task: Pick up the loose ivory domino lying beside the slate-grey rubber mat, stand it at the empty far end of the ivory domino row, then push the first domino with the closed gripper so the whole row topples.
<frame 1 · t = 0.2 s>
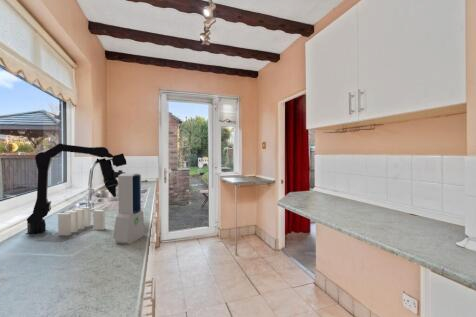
hand: (114, 195, 133), 15 cm above the table, tool pointing down, fingers open, 9 cm apart
domino 3: (72, 231, 115), point 1 cm above the table, touching rubber mat
rubber mat: (70, 233, 114), on the table
electronic device: (129, 239, 107), on the table
domino 1: (85, 226, 124), point 1 cm above the table, touching rubber mat
domino 4: (64, 234, 111), point 1 cm above the table, touching rubber mat
domino 2: (78, 228, 120), point 1 cm above the table, touching rubber mat
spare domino: (99, 230, 119), on the table
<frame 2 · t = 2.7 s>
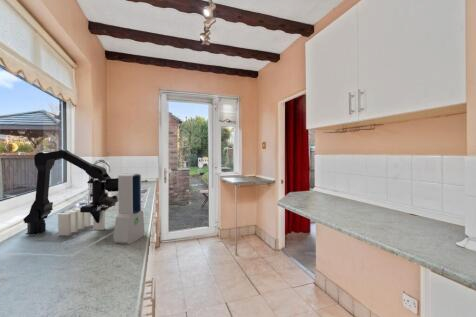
hand: (99, 222, 119), 4 cm above the table, tool pointing down, fingers closed on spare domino, 2 cm apart
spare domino: (99, 230, 119), on the table, touching gripper
everything else where it was.
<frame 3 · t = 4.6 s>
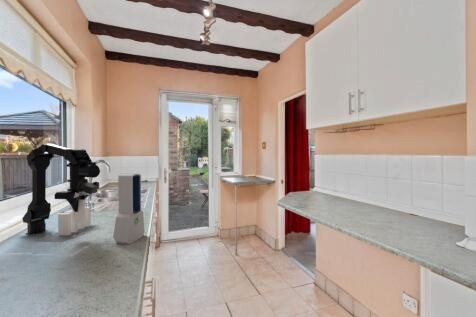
hand: (77, 211, 106), 13 cm above the table, tool pointing down, fingers closed on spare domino
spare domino: (79, 221, 106), point 8 cm above the table, touching gripper
everything else where it was.
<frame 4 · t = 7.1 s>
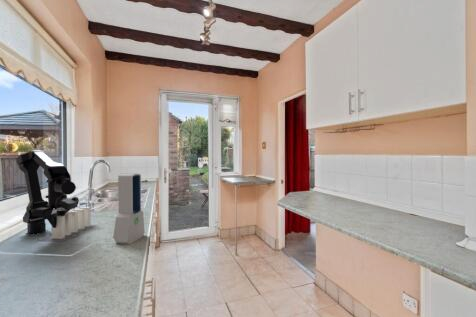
hand: (56, 227, 107), 6 cm above the table, tool pointing down, fingers closed
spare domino: (58, 238, 107), point 1 cm above the table, touching rubber mat
everything else where it was.
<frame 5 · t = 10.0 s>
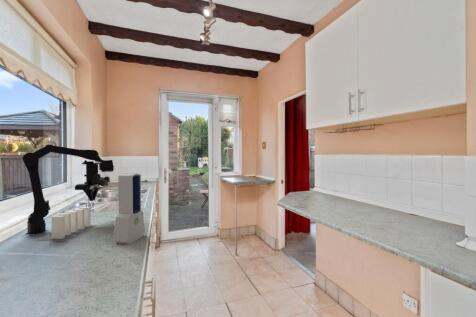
hand: (92, 200, 130), 13 cm above the table, tool pointing down, fingers closed
nothing on the table moved.
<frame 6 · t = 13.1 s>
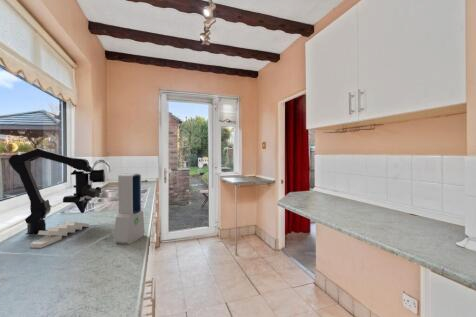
hand: (82, 212, 122), 8 cm above the table, tool pointing down, fingers closed
domino 3: (70, 230, 114), point 1 cm above the table, tilted 68°, touching domino 2, domino 4, rubber mat
domino 1: (84, 225, 123), point 1 cm above the table, tilted 69°, touching domino 2, rubber mat
domino 4: (62, 233, 110), point 1 cm above the table, tilted 68°, touching domino 3, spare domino
domino 2: (77, 227, 119), point 1 cm above the table, tilted 69°, touching domino 1, domino 3, rubber mat
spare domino: (56, 237, 106), point 1 cm above the table, tilted 90°, touching domino 4, rubber mat
everything else where it was.
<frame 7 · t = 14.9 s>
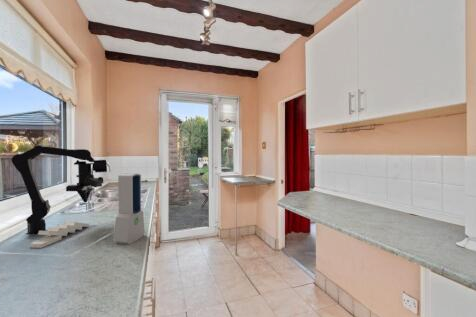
hand: (85, 202, 125), 13 cm above the table, tool pointing down, fingers closed
nothing on the table moved.
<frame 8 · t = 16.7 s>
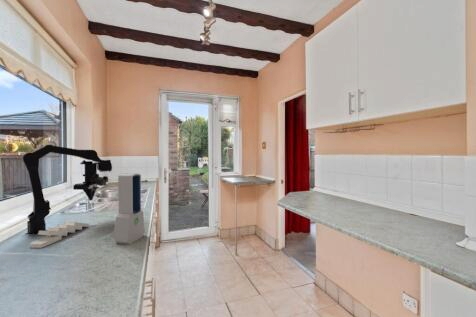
hand: (91, 200, 131), 13 cm above the table, tool pointing down, fingers closed
nothing on the table moved.
at the end: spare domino 1.1 cm from the target spot, point 1.4 cm above the table; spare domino tilted 90°; domino 1 tilted 69° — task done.
